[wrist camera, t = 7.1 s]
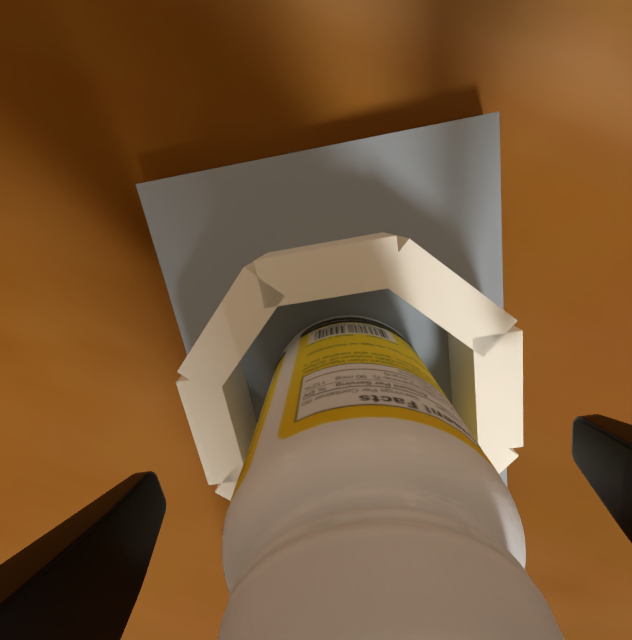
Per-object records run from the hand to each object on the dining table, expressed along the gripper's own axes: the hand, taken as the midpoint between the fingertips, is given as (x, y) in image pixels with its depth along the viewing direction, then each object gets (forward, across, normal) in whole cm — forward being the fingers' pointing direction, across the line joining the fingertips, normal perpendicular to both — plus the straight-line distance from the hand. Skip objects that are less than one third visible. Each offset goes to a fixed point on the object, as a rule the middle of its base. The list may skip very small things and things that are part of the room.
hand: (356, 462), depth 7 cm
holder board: (+5, 0, 0) cm, 5 cm away
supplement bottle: (+4, 0, 0) cm, 4 cm away
